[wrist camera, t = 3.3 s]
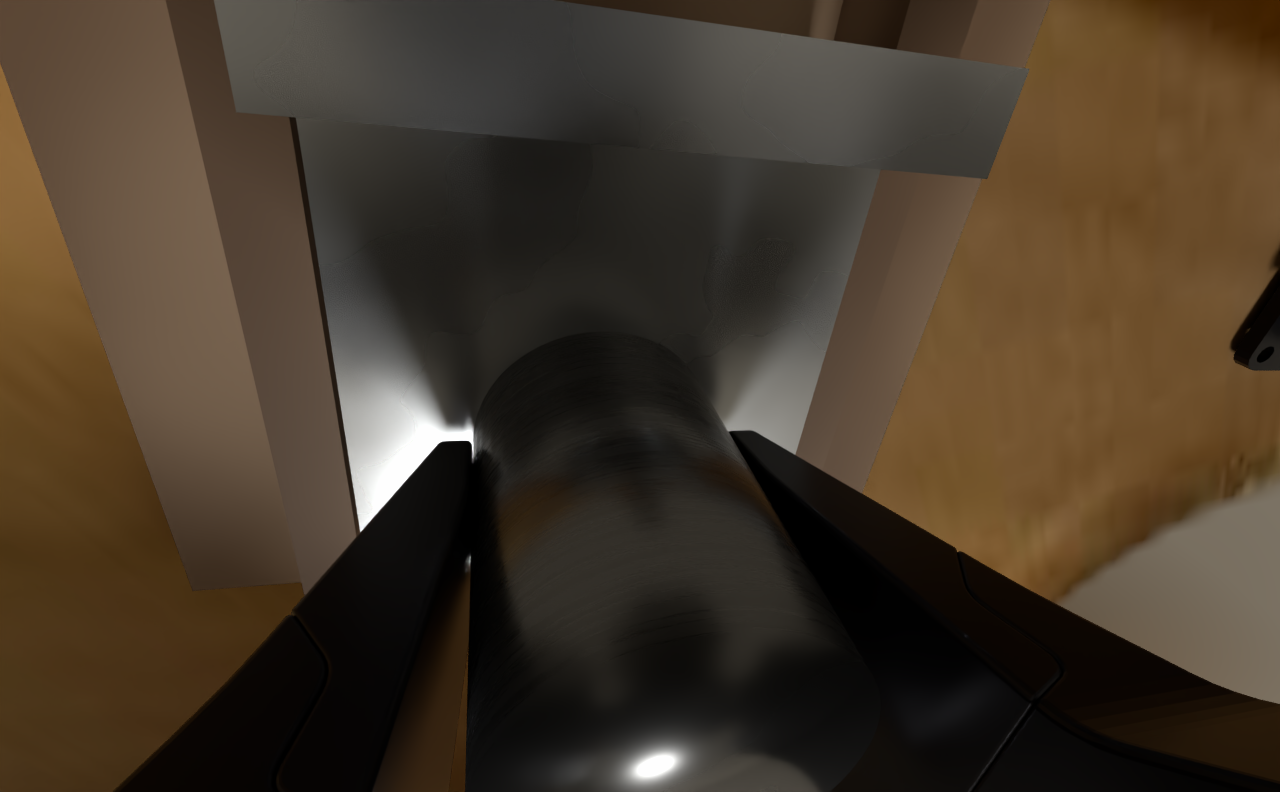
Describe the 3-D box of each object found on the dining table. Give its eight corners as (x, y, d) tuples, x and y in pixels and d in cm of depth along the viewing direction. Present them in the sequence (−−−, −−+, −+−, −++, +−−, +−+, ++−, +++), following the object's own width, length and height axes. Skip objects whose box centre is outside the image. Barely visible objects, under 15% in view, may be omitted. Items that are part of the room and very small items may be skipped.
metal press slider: (823, 49, 9) (1459, 109, 3) (726, 464, 13) (932, 841, 7) (326, -19, 8) (-282, -168, 2) (385, 479, 12) (280, 985, 6)
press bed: (1107, -311, 9) (1344, -437, 7) (823, 509, 17) (881, 593, 15) (-209, -761, 5) (-796, -1422, 3) (213, 548, 13) (152, 669, 11)
